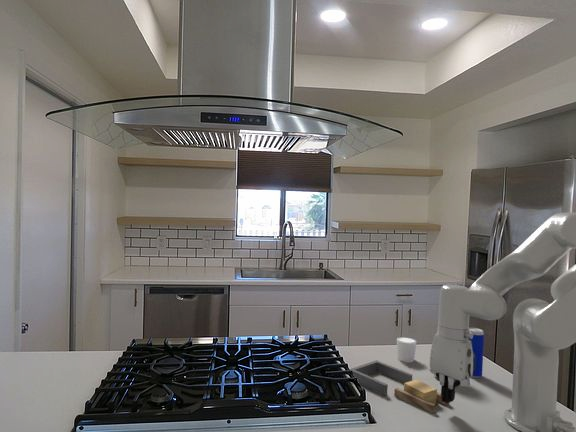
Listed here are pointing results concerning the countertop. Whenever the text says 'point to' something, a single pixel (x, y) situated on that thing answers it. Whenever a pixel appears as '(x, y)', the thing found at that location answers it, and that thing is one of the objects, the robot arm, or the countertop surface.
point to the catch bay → (383, 368)
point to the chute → (418, 400)
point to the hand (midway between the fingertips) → (447, 400)
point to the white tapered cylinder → (406, 349)
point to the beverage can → (477, 351)
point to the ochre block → (421, 390)
